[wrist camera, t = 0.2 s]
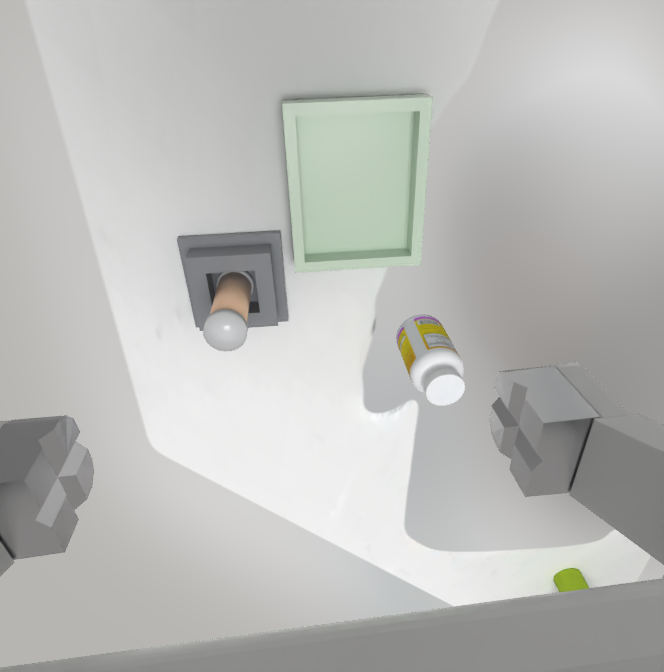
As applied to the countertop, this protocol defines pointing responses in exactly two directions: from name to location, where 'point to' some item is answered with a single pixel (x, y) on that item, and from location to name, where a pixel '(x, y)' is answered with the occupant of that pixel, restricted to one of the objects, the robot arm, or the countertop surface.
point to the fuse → (229, 311)
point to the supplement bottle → (431, 359)
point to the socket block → (233, 256)
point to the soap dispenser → (570, 580)
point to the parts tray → (357, 180)
